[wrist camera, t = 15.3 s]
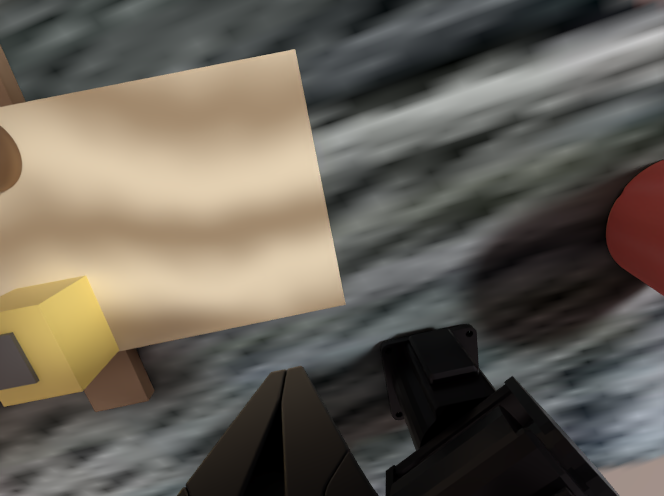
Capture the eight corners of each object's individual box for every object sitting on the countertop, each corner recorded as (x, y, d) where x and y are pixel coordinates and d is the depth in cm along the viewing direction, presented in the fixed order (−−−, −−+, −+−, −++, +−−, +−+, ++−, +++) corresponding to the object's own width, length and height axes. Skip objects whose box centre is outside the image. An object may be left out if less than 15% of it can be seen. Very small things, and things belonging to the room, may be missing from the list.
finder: (119, 350, 20) (80, 394, 17) (53, 362, 20) (0, 409, 17) (85, 275, 19) (35, 306, 15) (14, 288, 19) (-54, 323, 15)
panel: (354, 349, 23) (356, 358, 22) (-26, 428, 22) (-41, 441, 21) (277, -41, 16) (275, -52, 15) (-277, 66, 15) (-316, 61, 14)
